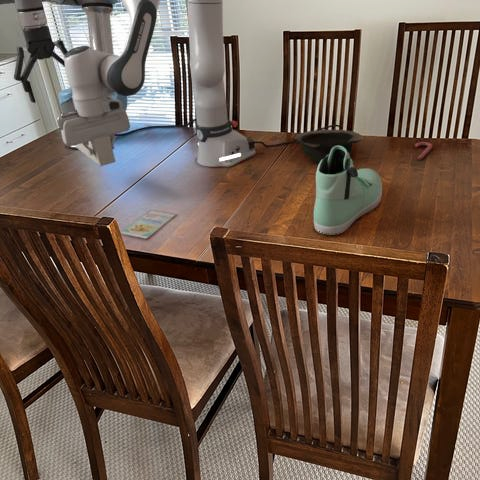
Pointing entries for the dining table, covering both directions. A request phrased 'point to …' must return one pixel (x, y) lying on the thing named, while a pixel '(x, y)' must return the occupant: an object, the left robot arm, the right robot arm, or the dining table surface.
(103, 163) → the bar
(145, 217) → the baking ingredient package
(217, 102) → the right robot arm
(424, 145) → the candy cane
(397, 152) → the dining table surface
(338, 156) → the sneaker
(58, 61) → the left robot arm
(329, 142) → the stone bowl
